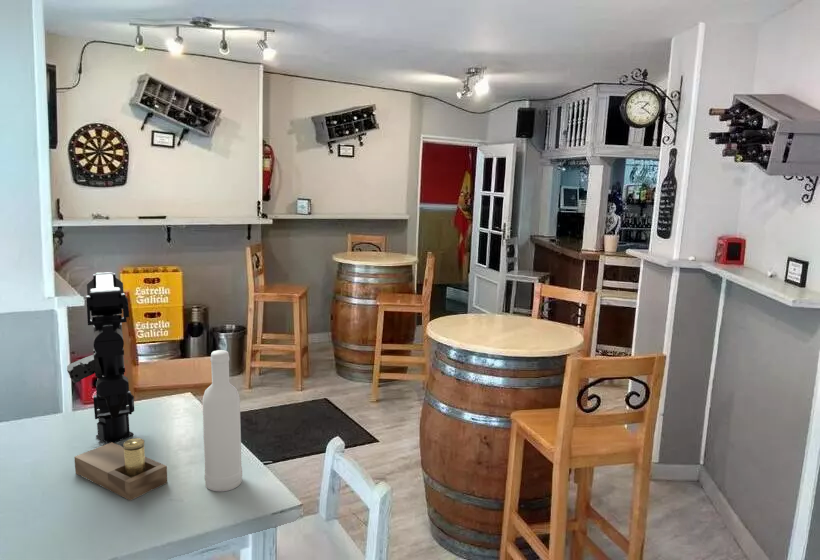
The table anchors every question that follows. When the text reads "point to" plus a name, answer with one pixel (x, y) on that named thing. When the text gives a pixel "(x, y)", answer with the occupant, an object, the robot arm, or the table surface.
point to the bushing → (134, 457)
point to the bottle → (221, 428)
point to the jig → (119, 471)
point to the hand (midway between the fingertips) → (113, 410)
